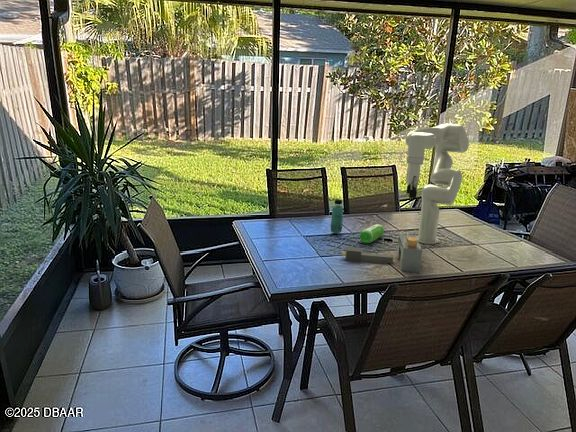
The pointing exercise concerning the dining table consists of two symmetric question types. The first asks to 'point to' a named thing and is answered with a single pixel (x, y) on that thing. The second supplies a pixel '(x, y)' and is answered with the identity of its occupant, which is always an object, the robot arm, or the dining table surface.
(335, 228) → the beverage bottle
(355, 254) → the plug
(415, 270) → the grey boxy piece
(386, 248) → the dining table surface
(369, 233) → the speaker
